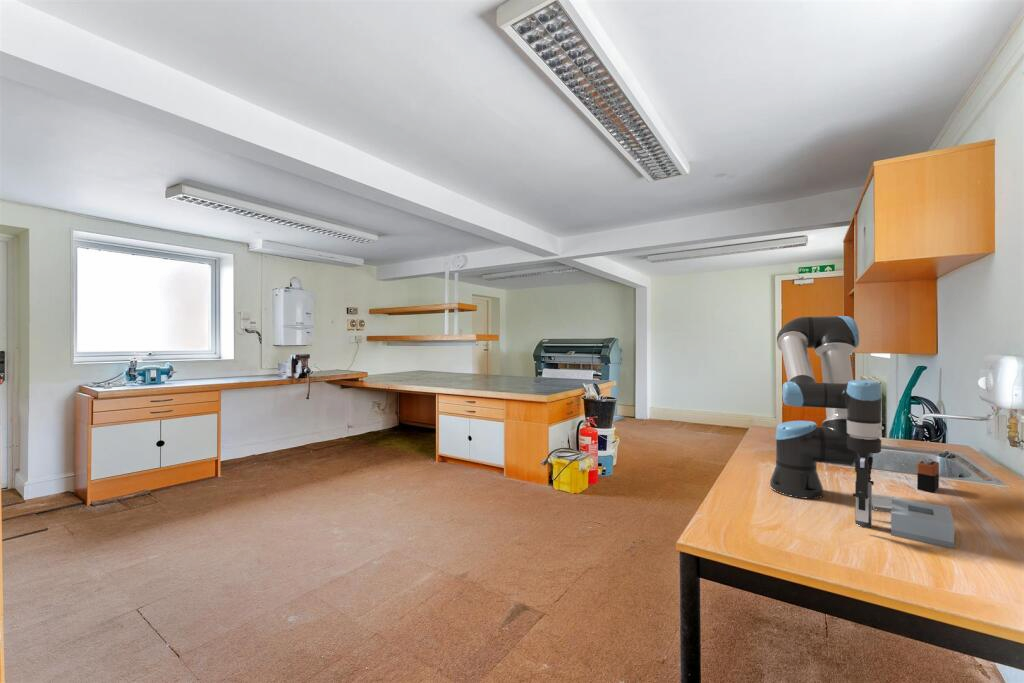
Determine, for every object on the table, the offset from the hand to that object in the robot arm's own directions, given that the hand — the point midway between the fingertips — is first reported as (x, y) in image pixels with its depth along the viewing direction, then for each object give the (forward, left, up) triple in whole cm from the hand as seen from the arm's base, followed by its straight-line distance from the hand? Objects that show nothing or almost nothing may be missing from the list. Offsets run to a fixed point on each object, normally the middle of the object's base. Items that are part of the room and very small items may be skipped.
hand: (863, 513), depth 126 cm
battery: (+15, +47, -3) cm, 49 cm away
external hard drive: (+4, +22, -4) cm, 23 cm away
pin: (0, 0, -3) cm, 3 cm away
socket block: (+12, +4, -3) cm, 13 cm away
